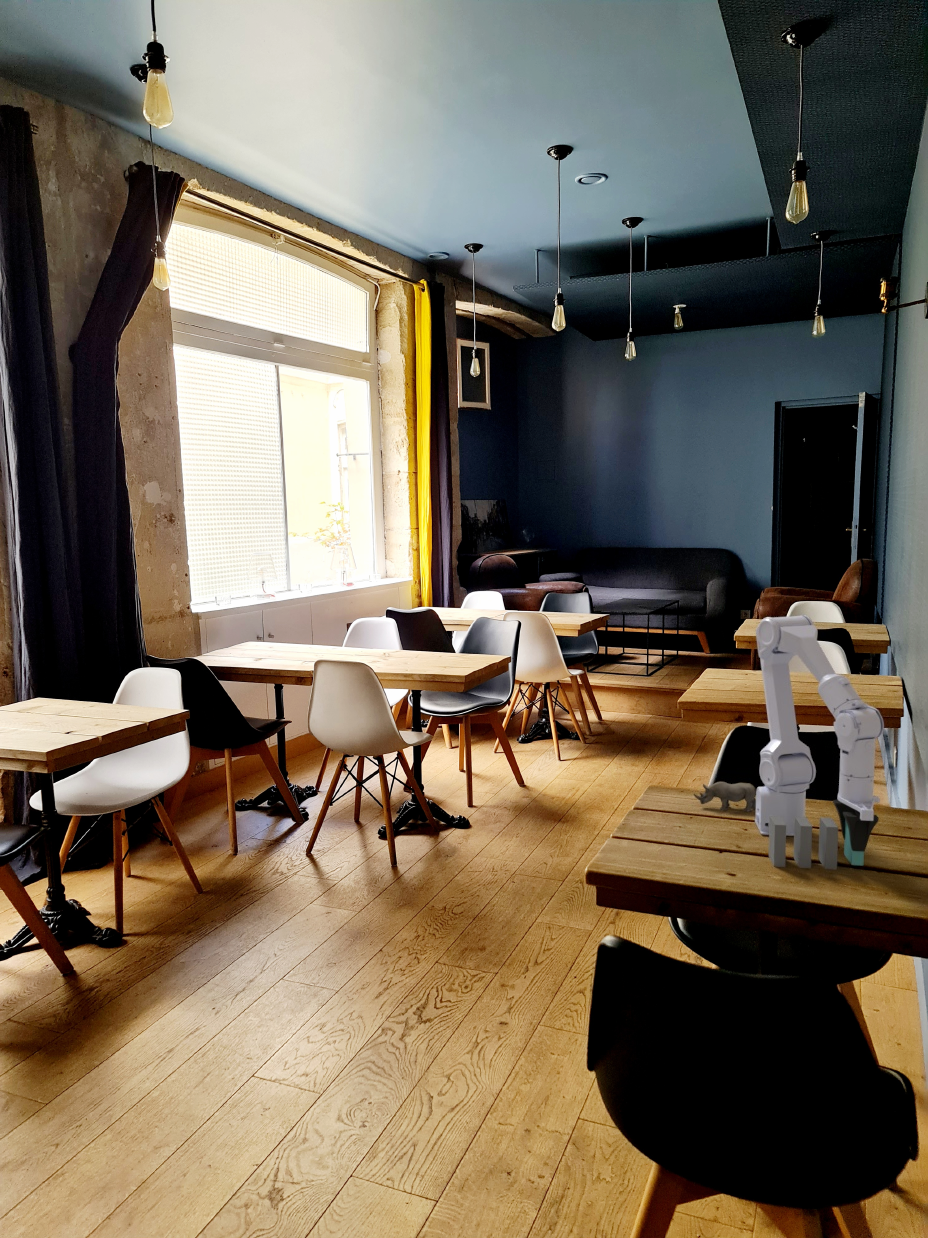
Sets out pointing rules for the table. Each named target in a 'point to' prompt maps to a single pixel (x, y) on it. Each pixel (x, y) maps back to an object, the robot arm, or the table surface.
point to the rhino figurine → (729, 794)
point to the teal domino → (852, 856)
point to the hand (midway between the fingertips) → (853, 845)
